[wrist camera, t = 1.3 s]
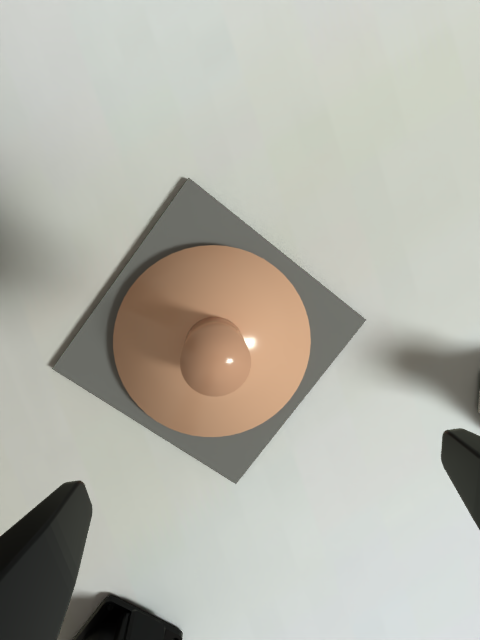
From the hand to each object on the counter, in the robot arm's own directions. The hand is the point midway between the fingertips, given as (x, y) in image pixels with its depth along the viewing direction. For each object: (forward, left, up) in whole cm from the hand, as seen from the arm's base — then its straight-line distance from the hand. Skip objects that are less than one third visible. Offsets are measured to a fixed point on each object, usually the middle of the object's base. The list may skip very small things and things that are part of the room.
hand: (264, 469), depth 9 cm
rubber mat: (-1, +1, -14) cm, 14 cm away
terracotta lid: (-1, +1, -13) cm, 13 cm away
